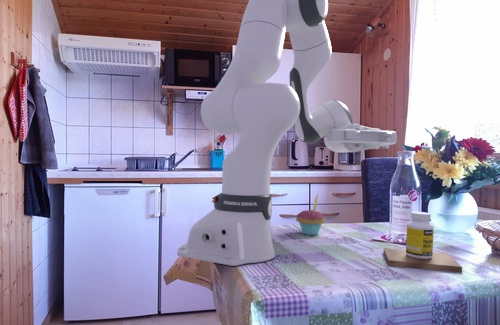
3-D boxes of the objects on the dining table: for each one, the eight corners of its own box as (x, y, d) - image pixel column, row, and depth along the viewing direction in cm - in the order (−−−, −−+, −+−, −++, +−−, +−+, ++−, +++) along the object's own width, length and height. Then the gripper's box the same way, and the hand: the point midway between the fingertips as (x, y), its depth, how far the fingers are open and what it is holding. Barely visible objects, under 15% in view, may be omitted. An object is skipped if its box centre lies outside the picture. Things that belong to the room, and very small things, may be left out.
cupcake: (322, 231, 111) (323, 193, 111) (325, 236, 103) (326, 195, 103) (295, 230, 112) (296, 192, 112) (296, 235, 104) (296, 195, 104)
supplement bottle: (425, 261, 75) (426, 215, 75) (401, 255, 80) (402, 212, 80) (437, 257, 79) (438, 213, 79) (413, 252, 83) (414, 210, 83)
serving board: (388, 265, 76) (388, 260, 76) (383, 252, 86) (383, 248, 86) (461, 272, 72) (462, 266, 72) (447, 258, 82) (447, 253, 82)
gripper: (321, 126, 110) (338, 122, 96) (382, 129, 113) (408, 125, 99) (320, 147, 110) (338, 145, 96) (382, 149, 113) (407, 147, 99)
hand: (374, 135), depth 98 cm, fingers open, 8 cm apart
